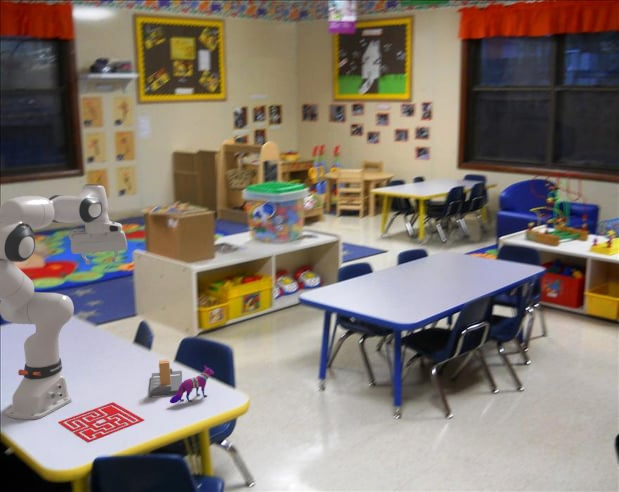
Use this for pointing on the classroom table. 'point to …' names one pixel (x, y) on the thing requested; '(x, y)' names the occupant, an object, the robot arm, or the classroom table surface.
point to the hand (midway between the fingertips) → (101, 263)
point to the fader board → (165, 389)
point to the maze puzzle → (89, 432)
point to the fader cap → (164, 372)
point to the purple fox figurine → (192, 385)
